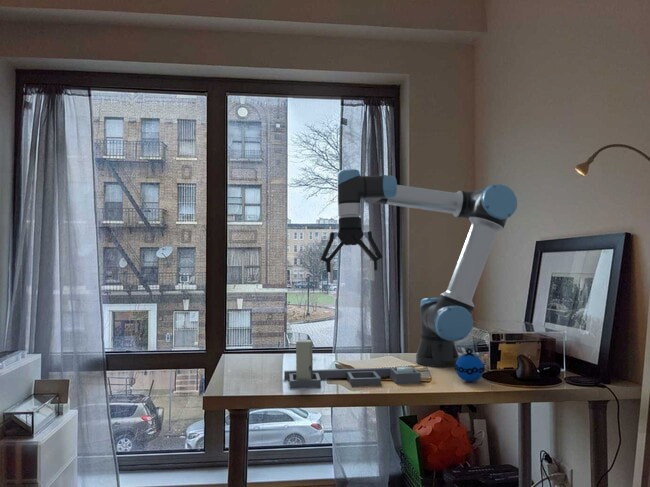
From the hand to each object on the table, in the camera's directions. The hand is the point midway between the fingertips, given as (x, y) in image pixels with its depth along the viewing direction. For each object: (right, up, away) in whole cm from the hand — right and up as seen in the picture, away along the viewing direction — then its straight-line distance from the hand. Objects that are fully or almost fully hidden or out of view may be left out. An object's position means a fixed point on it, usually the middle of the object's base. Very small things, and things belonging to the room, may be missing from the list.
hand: (352, 281), depth 160 cm
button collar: (+16, -30, -10) cm, 35 cm away
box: (-15, -30, -13) cm, 36 cm away
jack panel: (-2, -30, -11) cm, 32 cm away
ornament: (+35, -30, -12) cm, 47 cm away
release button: (+16, -28, -10) cm, 34 cm away
